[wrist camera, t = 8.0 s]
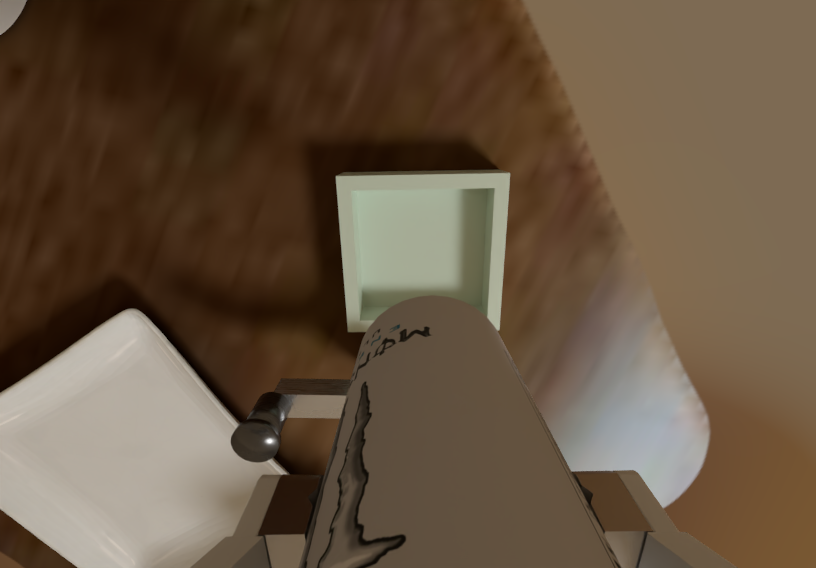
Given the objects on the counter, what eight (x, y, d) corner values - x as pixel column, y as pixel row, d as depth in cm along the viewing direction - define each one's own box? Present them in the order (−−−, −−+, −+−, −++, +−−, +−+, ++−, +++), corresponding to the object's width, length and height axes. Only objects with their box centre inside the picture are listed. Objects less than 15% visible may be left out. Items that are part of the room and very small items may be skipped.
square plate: (-44, 417, 39) (-91, 446, 35) (160, 287, 34) (130, 305, 30) (147, 577, 47) (125, 614, 43) (335, 490, 42) (328, 524, 38)
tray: (343, 172, 30) (335, 176, 27) (499, 169, 30) (510, 172, 27) (353, 313, 34) (347, 332, 31) (490, 311, 34) (499, 330, 31)
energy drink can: (391, 265, 16) (204, 1262, 1) (524, 319, 16) (1313, 1379, 2) (341, 386, 17) (16, 1423, 3) (463, 431, 18) (671, 1462, 4)
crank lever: (432, 364, 29) (437, 415, 24) (429, 418, 31) (434, 477, 26) (259, 361, 29) (225, 411, 24) (266, 415, 31) (236, 474, 26)
